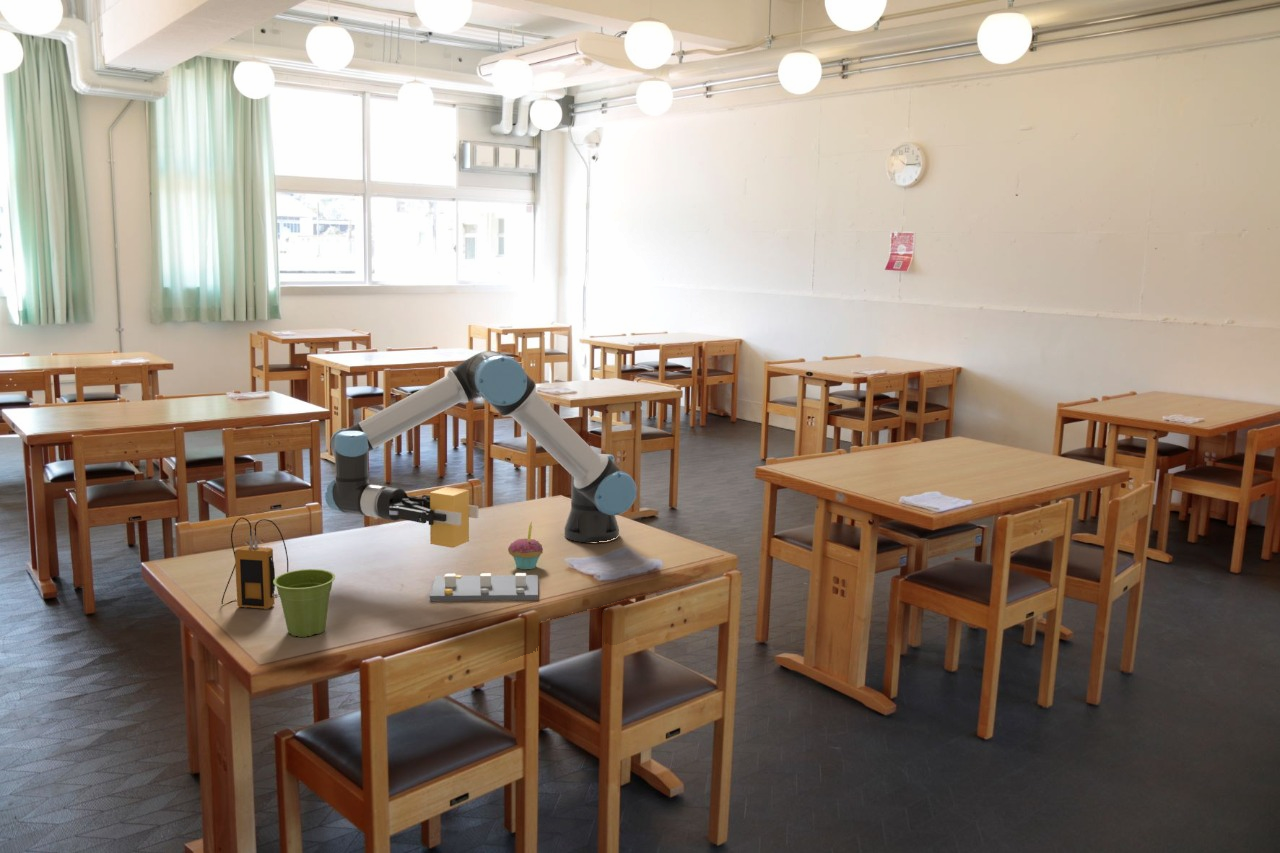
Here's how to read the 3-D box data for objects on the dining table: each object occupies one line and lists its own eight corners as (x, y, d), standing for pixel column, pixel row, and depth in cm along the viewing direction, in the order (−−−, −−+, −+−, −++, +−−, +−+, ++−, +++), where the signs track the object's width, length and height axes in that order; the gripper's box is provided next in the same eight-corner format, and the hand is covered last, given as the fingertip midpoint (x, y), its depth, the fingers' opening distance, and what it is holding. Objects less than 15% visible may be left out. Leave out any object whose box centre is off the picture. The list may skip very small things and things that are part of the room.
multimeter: (305, 595, 222) (302, 509, 219) (285, 611, 212) (282, 520, 209) (242, 591, 223) (239, 505, 220) (220, 607, 214) (215, 517, 210)
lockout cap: (446, 537, 230) (446, 486, 228) (468, 541, 228) (468, 490, 226) (430, 543, 224) (430, 492, 222) (453, 547, 222) (453, 495, 220)
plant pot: (273, 624, 205) (271, 572, 203) (333, 617, 209) (331, 566, 207) (277, 645, 194) (275, 590, 192) (339, 638, 199) (338, 584, 197)
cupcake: (549, 567, 247) (550, 520, 245) (523, 574, 241) (524, 526, 238) (527, 559, 252) (527, 513, 250) (501, 566, 246) (501, 519, 244)
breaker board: (537, 579, 237) (537, 564, 236) (538, 599, 223) (538, 584, 223) (435, 580, 234) (435, 565, 234) (429, 601, 221) (429, 585, 220)
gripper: (410, 509, 241) (491, 522, 232) (358, 527, 224) (444, 542, 215) (410, 479, 240) (492, 490, 231) (358, 495, 223) (443, 508, 213)
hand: (468, 515), depth 223 cm, fingers closed on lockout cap, 6 cm apart
